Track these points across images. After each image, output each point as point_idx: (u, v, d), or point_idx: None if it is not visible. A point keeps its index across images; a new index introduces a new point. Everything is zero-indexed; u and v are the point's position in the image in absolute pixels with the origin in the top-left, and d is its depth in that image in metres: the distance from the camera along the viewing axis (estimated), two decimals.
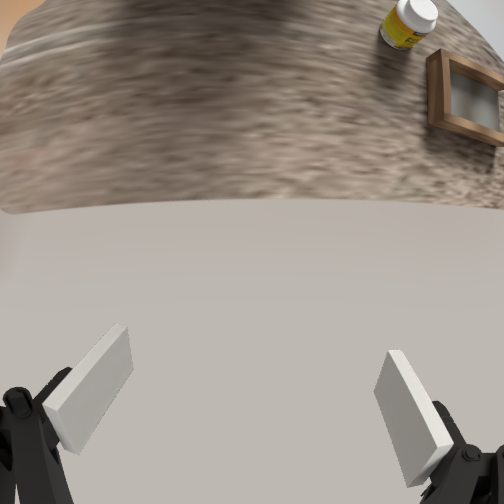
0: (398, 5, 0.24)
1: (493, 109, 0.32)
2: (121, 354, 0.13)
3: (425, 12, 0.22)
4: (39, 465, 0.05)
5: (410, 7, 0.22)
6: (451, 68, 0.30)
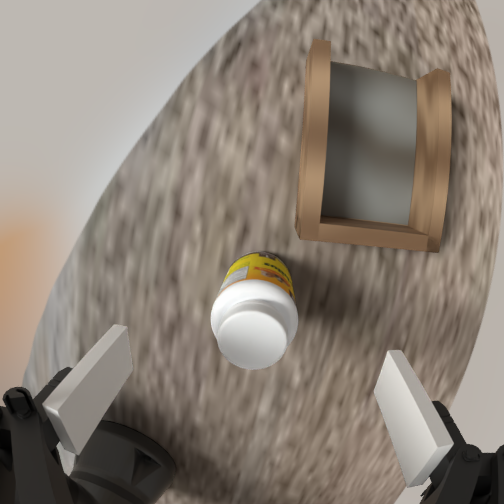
0: None
1: (367, 82, 0.20)
2: (121, 354, 0.13)
3: (267, 343, 0.16)
4: (39, 465, 0.05)
5: (261, 367, 0.17)
6: None
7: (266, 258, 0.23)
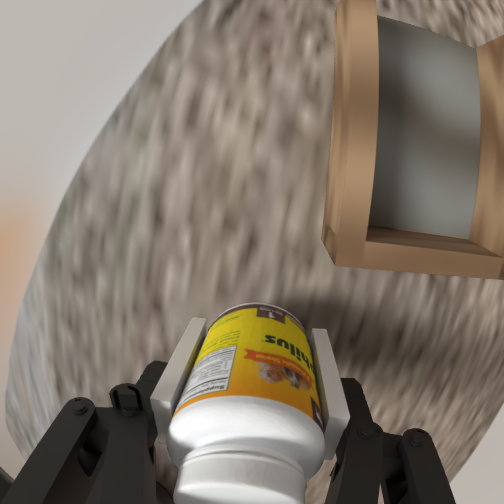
0: None
1: (418, 43, 0.12)
2: None
3: None
4: (134, 466, 0.07)
5: None
6: None
7: (269, 320, 0.13)
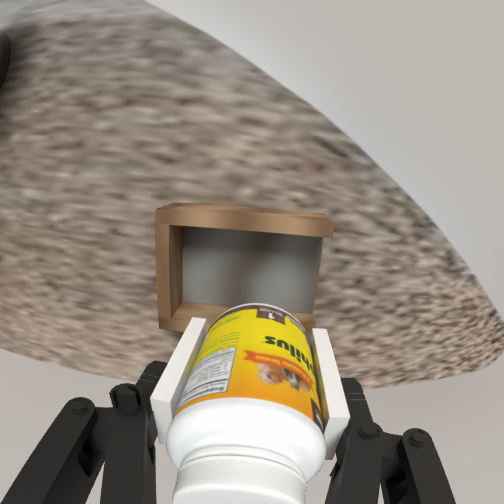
0: None
1: (304, 267, 0.28)
2: None
3: None
4: (135, 466, 0.07)
5: None
6: None
7: (269, 321, 0.13)
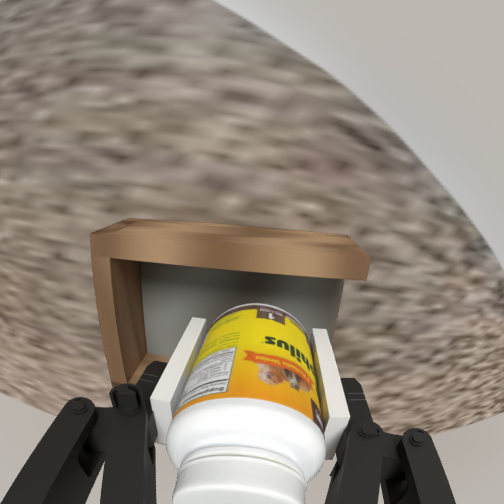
0: None
1: (316, 313, 0.19)
2: None
3: None
4: (134, 466, 0.07)
5: None
6: None
7: (269, 322, 0.13)
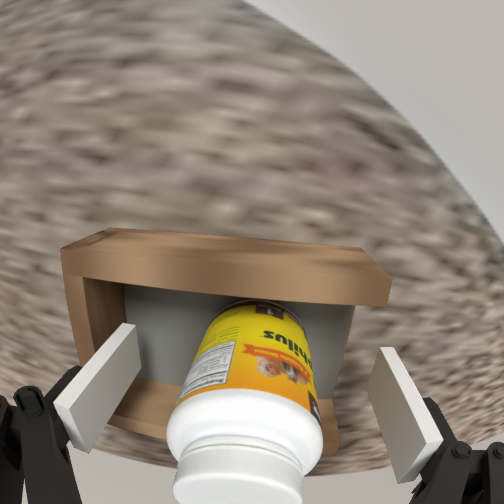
0: None
1: (324, 338, 0.16)
2: (130, 352, 0.13)
3: None
4: (48, 464, 0.06)
5: None
6: None
7: (268, 316, 0.13)
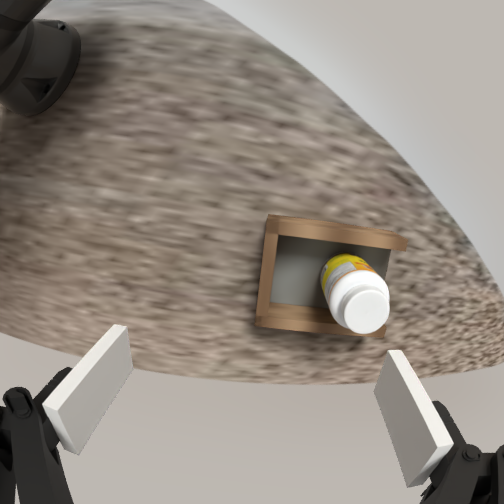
0: (349, 328, 0.26)
1: None
2: (121, 354, 0.13)
3: (377, 313, 0.23)
4: (38, 465, 0.05)
5: (369, 332, 0.23)
6: None
7: (356, 256, 0.30)
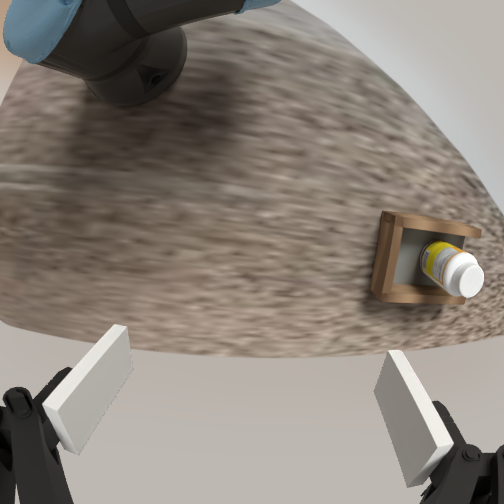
0: (454, 295, 0.31)
1: None
2: (121, 354, 0.13)
3: (477, 282, 0.28)
4: (39, 465, 0.05)
5: (471, 296, 0.28)
6: None
7: (448, 243, 0.35)
